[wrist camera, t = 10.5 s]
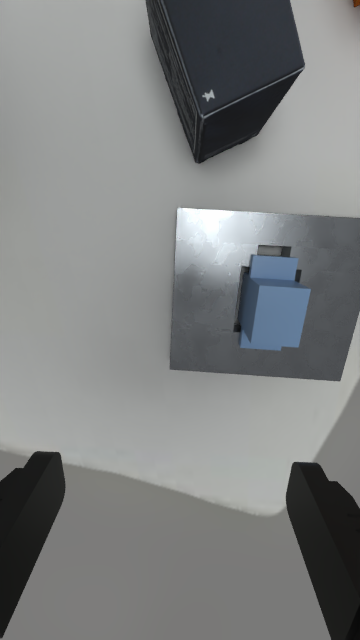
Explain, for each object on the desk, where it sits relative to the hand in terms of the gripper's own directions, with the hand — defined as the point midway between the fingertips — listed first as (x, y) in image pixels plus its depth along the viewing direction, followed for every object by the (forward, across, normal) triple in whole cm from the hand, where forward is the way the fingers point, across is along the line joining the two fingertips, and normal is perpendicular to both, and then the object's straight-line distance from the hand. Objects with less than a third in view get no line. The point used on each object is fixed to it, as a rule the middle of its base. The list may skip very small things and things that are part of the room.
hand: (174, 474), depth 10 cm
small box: (+22, -2, -19) cm, 29 cm away
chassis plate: (+21, -8, -1) cm, 23 cm away
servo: (+21, -8, -1) cm, 23 cm away
